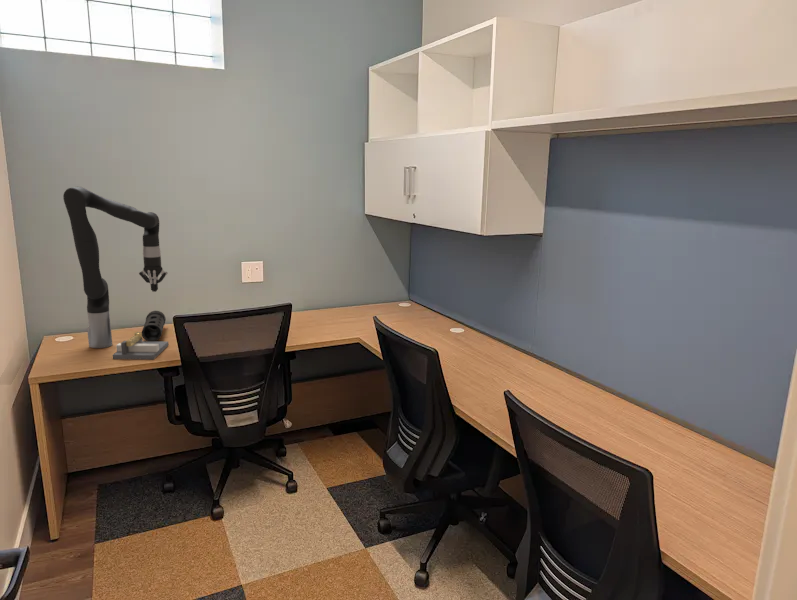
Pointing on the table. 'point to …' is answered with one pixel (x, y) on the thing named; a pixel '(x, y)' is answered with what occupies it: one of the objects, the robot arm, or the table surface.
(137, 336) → the swing bar
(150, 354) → the lock board
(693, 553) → the table surface
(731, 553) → the table surface
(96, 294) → the robot arm
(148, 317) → the muzzle brake
